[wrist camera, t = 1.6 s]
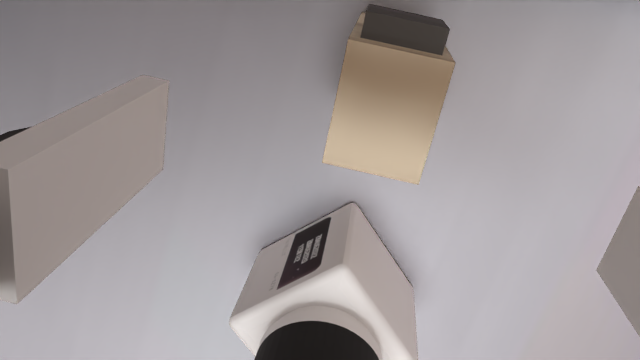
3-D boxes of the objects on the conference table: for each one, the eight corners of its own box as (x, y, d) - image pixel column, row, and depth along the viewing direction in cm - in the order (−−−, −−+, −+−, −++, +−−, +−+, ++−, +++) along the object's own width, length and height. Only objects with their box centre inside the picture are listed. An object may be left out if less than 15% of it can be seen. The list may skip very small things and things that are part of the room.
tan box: (410, 114, 30) (418, 184, 21) (342, 99, 30) (321, 162, 21) (439, 8, 27) (463, 34, 18) (366, -8, 28) (354, 11, 18)
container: (257, 250, 35) (189, 400, 23) (354, 198, 32) (333, 337, 21) (319, 331, 37) (286, 508, 25) (415, 289, 35) (428, 462, 23)
